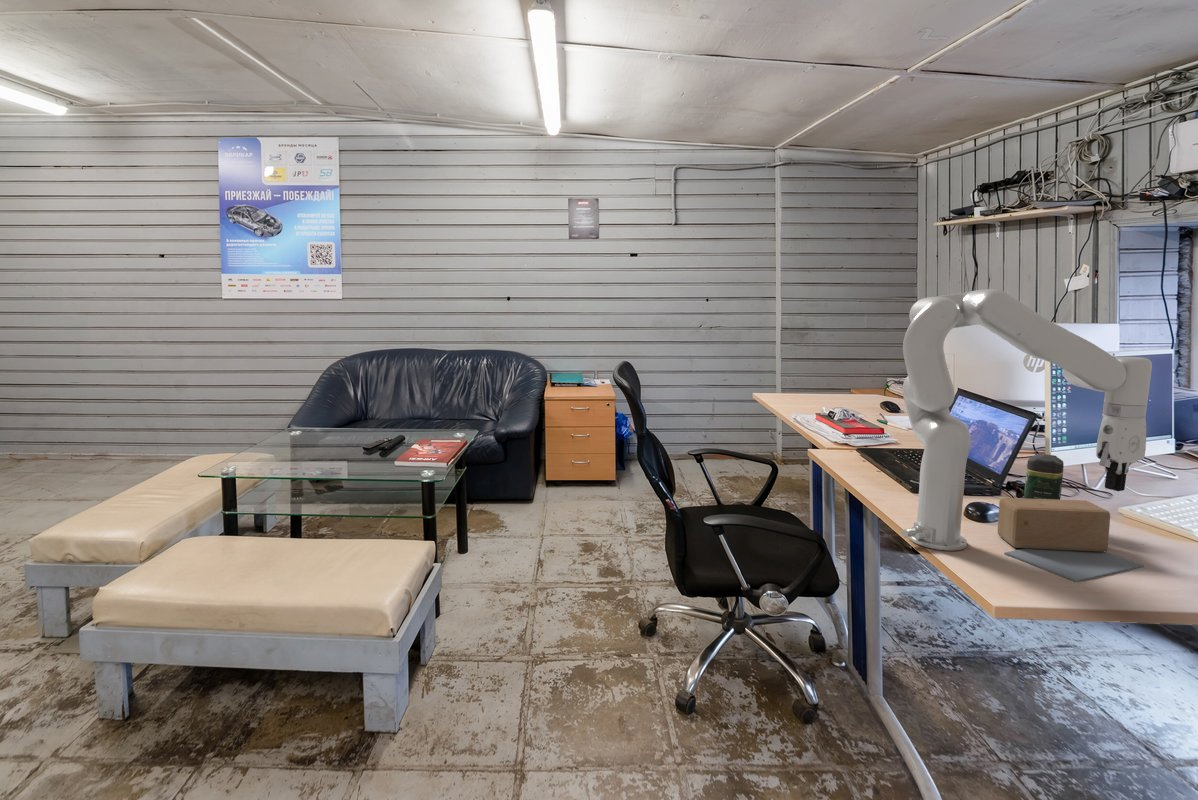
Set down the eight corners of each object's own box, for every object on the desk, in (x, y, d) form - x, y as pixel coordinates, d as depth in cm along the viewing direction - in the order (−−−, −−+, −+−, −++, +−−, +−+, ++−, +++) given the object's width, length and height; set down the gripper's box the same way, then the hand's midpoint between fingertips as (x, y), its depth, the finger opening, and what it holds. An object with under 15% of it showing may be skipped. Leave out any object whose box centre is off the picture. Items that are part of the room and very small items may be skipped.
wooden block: (1112, 511, 142) (1016, 508, 146) (1109, 553, 144) (1013, 549, 148) (1087, 499, 152) (997, 496, 156) (1084, 538, 153) (995, 535, 157)
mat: (1076, 582, 131) (1076, 580, 131) (1004, 554, 146) (1004, 552, 146) (1143, 566, 138) (1144, 564, 138) (1068, 541, 153) (1069, 539, 153)
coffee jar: (1056, 531, 159) (1064, 461, 157) (1019, 525, 164) (1026, 457, 162) (1058, 521, 167) (1065, 454, 164) (1023, 515, 172) (1029, 450, 169)
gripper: (1121, 416, 135) (1111, 497, 138) (1164, 411, 140) (1153, 490, 143) (1084, 410, 142) (1075, 488, 144) (1126, 406, 147) (1117, 481, 150)
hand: (1114, 489), depth 144 cm, fingers closed
